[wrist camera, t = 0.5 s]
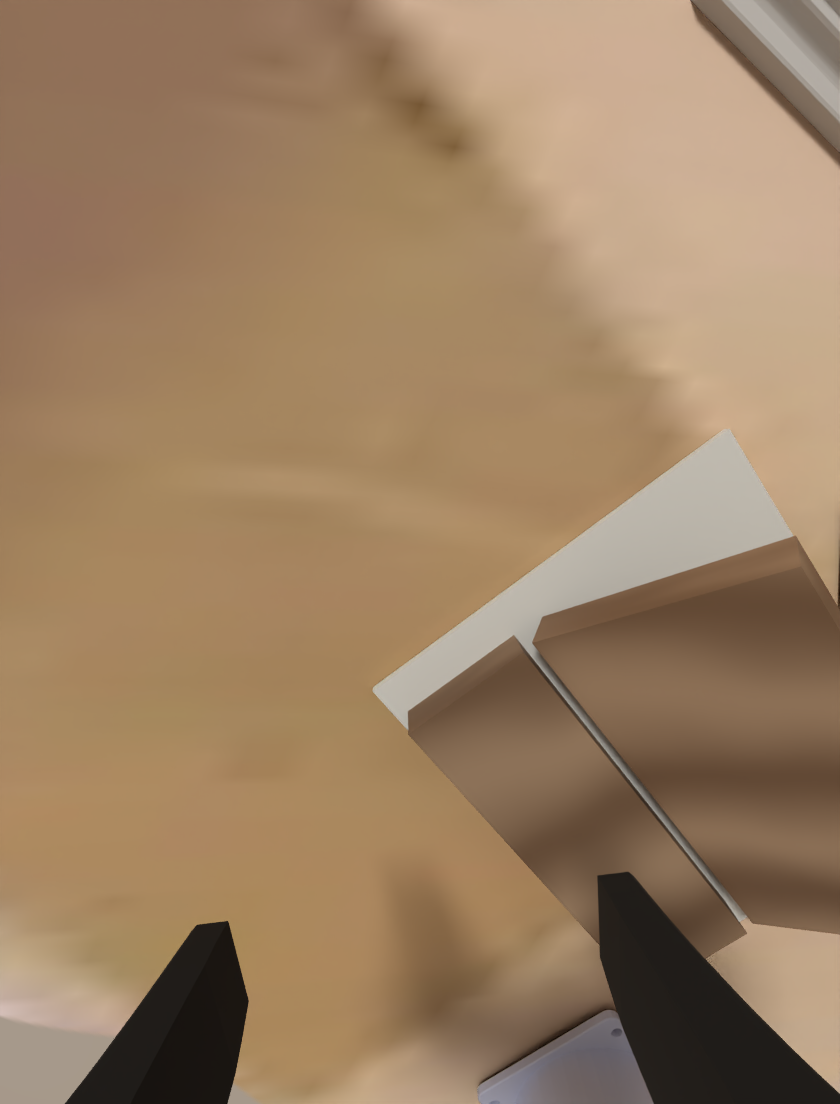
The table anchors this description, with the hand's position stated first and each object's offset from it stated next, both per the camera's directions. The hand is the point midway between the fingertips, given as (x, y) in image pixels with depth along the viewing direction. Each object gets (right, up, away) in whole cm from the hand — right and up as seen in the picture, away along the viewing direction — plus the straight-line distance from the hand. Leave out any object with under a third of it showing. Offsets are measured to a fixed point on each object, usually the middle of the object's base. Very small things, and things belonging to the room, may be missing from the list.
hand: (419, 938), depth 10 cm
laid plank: (+6, -3, +11) cm, 13 cm away
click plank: (+12, 0, +8) cm, 14 cm away
